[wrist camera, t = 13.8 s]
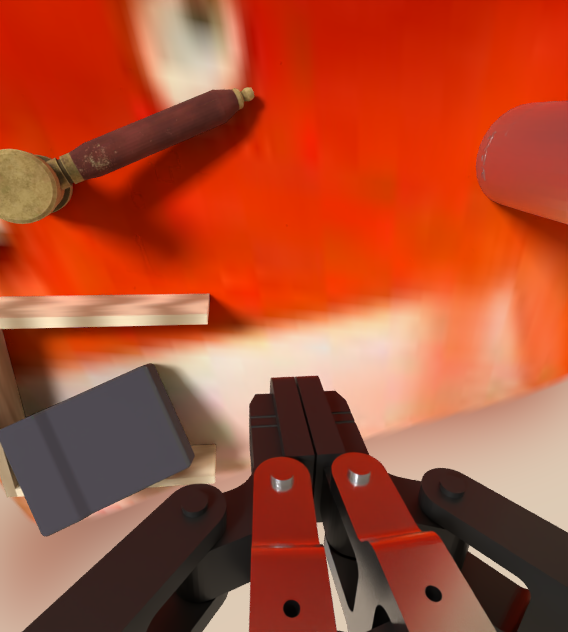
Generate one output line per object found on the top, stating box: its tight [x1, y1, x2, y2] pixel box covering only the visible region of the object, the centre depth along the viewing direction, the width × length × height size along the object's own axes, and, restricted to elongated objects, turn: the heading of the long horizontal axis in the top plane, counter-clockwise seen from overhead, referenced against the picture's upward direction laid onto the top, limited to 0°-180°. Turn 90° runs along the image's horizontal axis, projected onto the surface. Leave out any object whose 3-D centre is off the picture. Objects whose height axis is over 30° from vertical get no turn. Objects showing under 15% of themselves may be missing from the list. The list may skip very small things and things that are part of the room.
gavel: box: [0, 87, 254, 224], centre depth 33 cm, size 21×5×10 cm, turn 111°
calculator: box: [0, 363, 195, 536], centre depth 42 cm, size 11×4×15 cm
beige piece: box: [0, 294, 216, 497], centre depth 43 cm, size 21×20×5 cm
